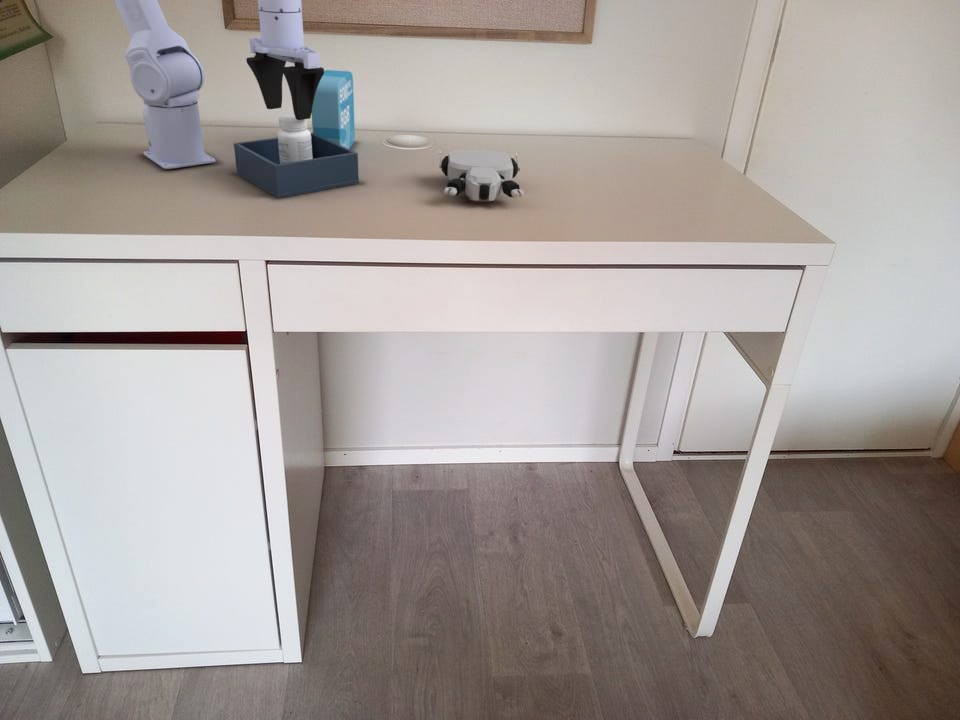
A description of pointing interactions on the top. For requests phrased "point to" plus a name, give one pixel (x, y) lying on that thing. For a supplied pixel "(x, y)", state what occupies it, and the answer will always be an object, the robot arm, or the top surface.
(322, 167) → the tote
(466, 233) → the top surface
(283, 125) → the pill bottle
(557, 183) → the top surface
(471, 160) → the robot toy
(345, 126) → the blue carton
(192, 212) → the top surface
